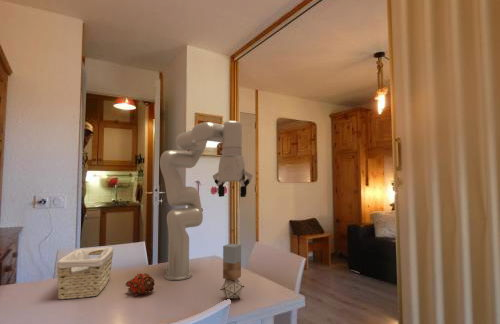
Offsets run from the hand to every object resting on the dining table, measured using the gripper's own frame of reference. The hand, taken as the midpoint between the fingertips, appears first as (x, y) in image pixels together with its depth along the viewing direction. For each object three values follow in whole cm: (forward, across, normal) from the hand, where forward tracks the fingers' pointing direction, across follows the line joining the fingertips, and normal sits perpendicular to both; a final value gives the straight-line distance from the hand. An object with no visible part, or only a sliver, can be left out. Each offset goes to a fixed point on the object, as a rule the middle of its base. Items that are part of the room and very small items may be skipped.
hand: (232, 196), depth 113 cm
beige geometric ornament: (+39, 0, 0) cm, 39 cm away
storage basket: (+39, -59, -18) cm, 73 cm away
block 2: (+31, 0, 0) cm, 31 cm away
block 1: (+24, 0, 0) cm, 25 cm away
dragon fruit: (+39, -35, -12) cm, 53 cm away
